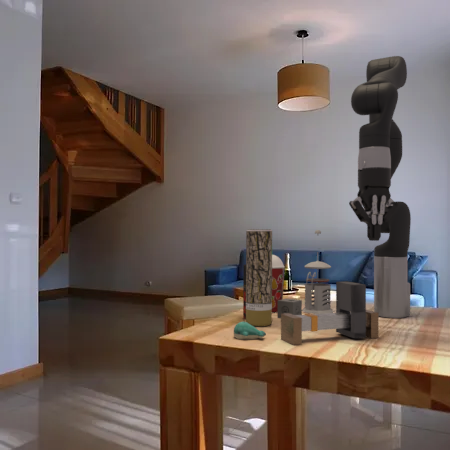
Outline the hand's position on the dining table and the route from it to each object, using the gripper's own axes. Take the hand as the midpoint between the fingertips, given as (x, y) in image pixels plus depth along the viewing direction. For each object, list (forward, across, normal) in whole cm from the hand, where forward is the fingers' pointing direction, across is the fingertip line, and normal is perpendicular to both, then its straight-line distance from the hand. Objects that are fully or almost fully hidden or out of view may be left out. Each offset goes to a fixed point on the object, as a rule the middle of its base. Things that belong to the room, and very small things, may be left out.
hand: (373, 240), depth 113 cm
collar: (+22, +6, 0) cm, 23 cm away
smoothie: (+23, +9, -38) cm, 45 cm away
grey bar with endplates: (+22, +12, 0) cm, 26 cm away
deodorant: (+23, +19, -28) cm, 41 cm away
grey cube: (+23, +9, -26) cm, 36 cm away
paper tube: (+23, +21, -20) cm, 37 cm away
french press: (+23, -4, -33) cm, 40 cm away
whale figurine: (+23, +29, -6) cm, 38 cm away
